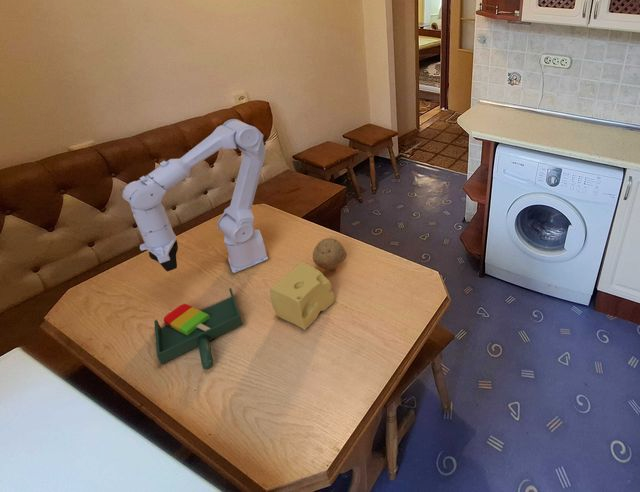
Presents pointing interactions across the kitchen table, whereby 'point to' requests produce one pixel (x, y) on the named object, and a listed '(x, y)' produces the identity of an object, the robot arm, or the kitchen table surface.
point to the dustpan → (198, 333)
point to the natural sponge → (329, 253)
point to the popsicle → (186, 319)
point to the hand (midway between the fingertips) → (171, 268)
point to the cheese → (301, 295)
